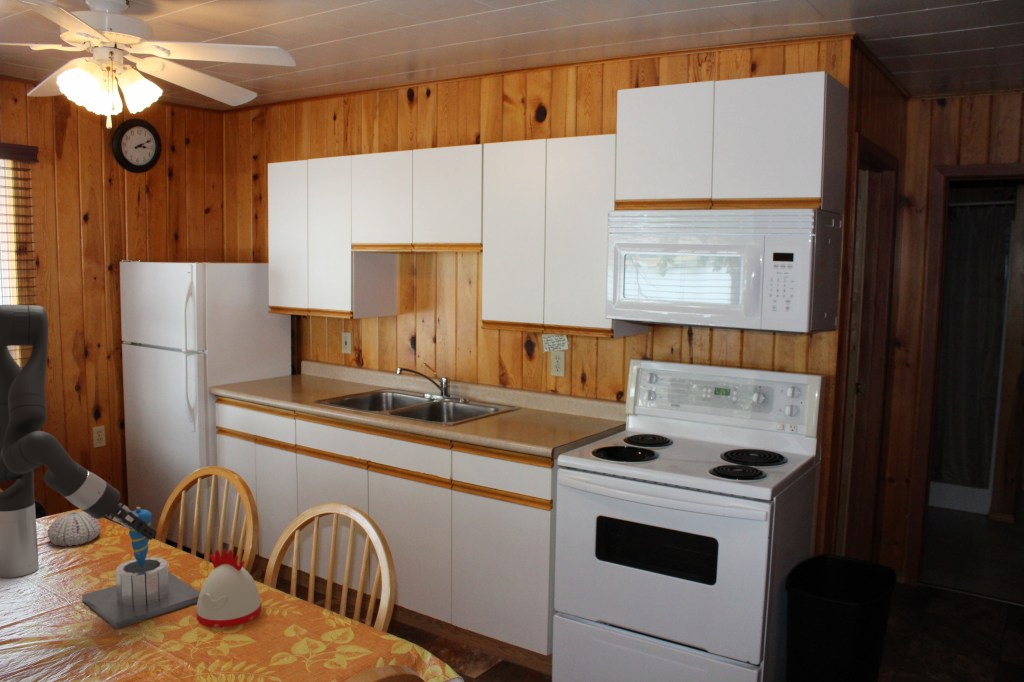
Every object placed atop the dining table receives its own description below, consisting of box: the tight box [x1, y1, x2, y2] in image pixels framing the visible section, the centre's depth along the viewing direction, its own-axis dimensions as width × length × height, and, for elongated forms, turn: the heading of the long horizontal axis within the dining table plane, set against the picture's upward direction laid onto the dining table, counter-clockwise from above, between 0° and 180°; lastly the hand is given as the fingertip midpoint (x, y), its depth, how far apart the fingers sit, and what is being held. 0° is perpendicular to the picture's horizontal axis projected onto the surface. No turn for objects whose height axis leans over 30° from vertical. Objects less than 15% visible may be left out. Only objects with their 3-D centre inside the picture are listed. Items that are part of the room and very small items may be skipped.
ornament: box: [128, 505, 153, 567], centre depth 190 cm, size 5×5×15 cm
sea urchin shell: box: [46, 511, 102, 547], centre depth 230 cm, size 13×14×8 cm
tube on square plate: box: [81, 556, 200, 630], centre depth 192 cm, size 20×20×8 cm
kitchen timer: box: [196, 548, 262, 628], centre depth 186 cm, size 14×14×15 cm
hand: (147, 532), depth 192 cm, fingers closed on ornament, 5 cm apart
